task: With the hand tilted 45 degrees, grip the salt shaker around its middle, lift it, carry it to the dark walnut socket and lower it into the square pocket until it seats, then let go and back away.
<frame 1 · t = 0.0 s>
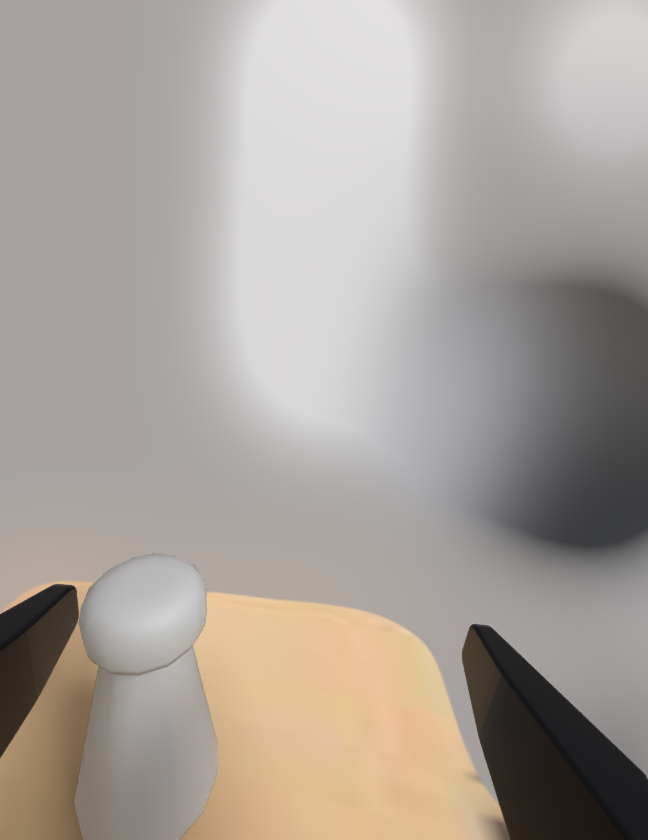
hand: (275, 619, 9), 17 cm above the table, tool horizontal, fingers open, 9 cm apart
salt shaker: (152, 806, 19), on the table
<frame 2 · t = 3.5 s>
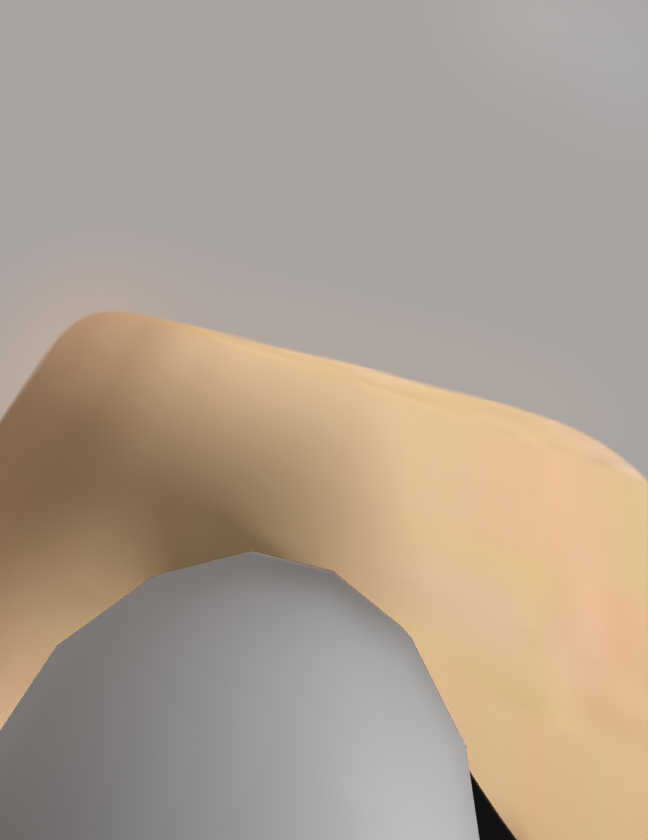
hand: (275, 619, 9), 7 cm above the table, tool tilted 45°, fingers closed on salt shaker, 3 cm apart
salt shaker: (274, 658, 14), on the table, touching gripper
when the fingers open (9 cm above the table, at t = 6.4 s): salt shaker drops 1 cm, resting on walnut socket.
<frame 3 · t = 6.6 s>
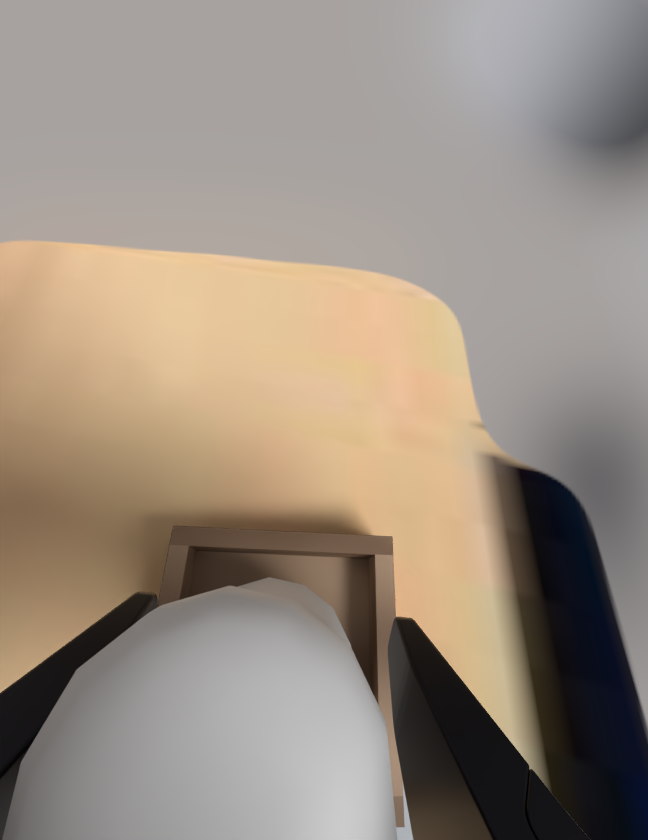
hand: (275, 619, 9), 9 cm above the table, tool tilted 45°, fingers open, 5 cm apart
walnut socket: (276, 652, 16), on the table
salt shaker: (272, 662, 16), point 1 cm above the table, touching walnut socket
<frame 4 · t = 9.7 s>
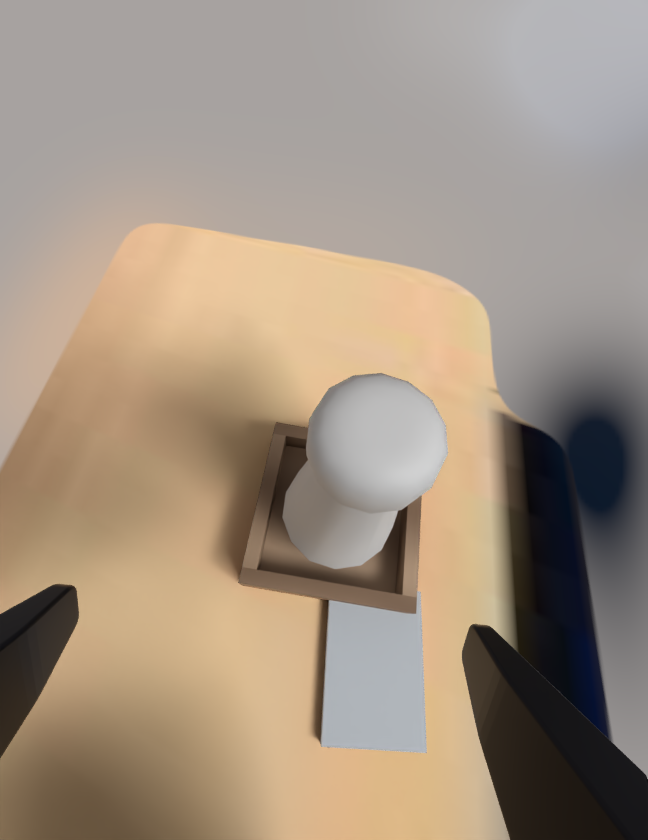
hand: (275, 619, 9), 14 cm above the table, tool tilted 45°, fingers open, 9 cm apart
walnut socket: (335, 518, 24), on the table
salt shaker: (333, 520, 23), point 1 cm above the table, touching walnut socket
grey rectangular slab: (372, 661, 21), on the table
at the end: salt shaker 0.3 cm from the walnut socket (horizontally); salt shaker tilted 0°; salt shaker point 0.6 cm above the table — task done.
